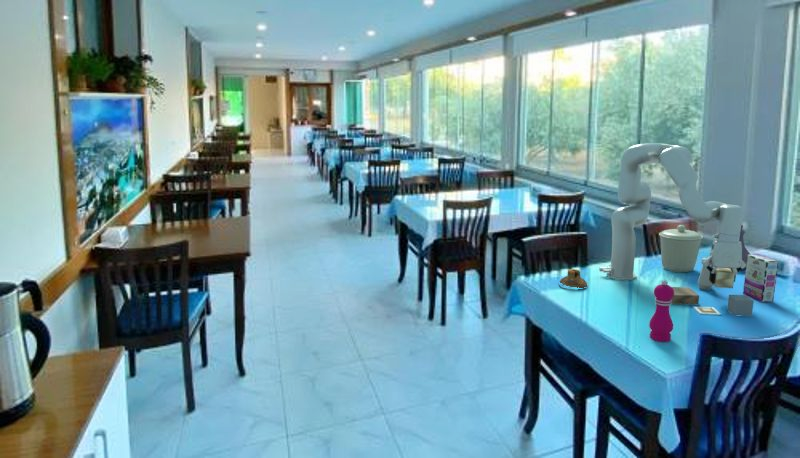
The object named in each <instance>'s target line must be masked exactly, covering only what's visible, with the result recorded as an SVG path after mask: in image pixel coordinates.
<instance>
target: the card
mask: <svg viewBox="0 0 800 458" xmlns="http://www.w3.org/2000/svg"><path fill="white" fill-rule="evenodd" d="M692 308H693V309H694V310H695V311H696V312H697V313H698V314H699V315H706V316H707V315H710V316H711V315H714V316H721V312H719V311H718V310H717V309H716V308H715V307H713V306H712V307H711V306H693V307H692Z"/></svg>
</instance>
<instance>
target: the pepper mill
mask: <svg viewBox="0 0 800 458" xmlns="http://www.w3.org/2000/svg"><path fill="white" fill-rule="evenodd" d="M672 287H673V286H671V285H669V283H668V281H667V280H666V279H663V280H662V281H661V284H657V285H656V286H655V287H654V289H653V295H654V297H655V298H654V303H655V311H654V313H653V315H652V316H651V318H650V319H649V323H648V328H649V329H650V330H651V331H650V332H649V338H650V339H651V340H653V341H656V342H658V343H659V342H660V343H667V342H670V341H671V340H672V339H671V338H672V334H671V333H672V332H673V331H674V323H673V320H672V317H671V314H670V307H671V306H672V305H673V304H672V303H671V302H672V300H671V298H673V296H674V290H673V288H672Z"/></svg>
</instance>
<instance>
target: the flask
mask: <svg viewBox="0 0 800 458" xmlns="http://www.w3.org/2000/svg"><path fill="white" fill-rule="evenodd" d="M745 233H746V231H745V230H743V225H742V224H741V230H740V238H739V241H740V242H741V244H742V260H743V261H744V263H745V264H747V256H748V255H752V253H750V252H749V250H748V249H747V248H746V246H745V241H744V235H745ZM729 269H730V268H729ZM730 270H731V269H730ZM745 270H746V267H744V268H743V269H742V270H741V271H745Z"/></svg>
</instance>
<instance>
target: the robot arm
mask: <svg viewBox="0 0 800 458" xmlns="http://www.w3.org/2000/svg"><path fill="white" fill-rule="evenodd" d="M692 160H693V155H692V152H691V151H690V149H689V148H687V147H685V146H681V145H675V144H674V145H673V144H667V143H661V142H650V143H649V142H648V143H640V144H635V145H632V146H629V147H628V148H627V149H625V150H624V152H623V153H622V155H621V159H620V169H619V170H620V172H619V173H620V174H619V180H618V187H617V200H618V202H620V203H621V204H623V205H627V206H623V207H622V206H621V207H619V208H617V209H615V210H614V211H613V212H612V214H611V217H610V219H611V220H610V221H611V229H612V239H611V253H610V254H611V255H610V257H611V259H610V264H609V265H608V266H607V267H605V266H604V267H603V266H600V267H599V270H598V271H599V272H603V273H606V277H607V276H608V277H607V278H609V277H610V278H609V279H611V278H613V279H612V280H615V279H616V281H634V280H636V279H637V278H638V275H637V274H636V273H634V270H635V269H634V268H635V255H636V253H635V252H636V233H635V230H634V228H635V227H640V226H642V225H644V224H646V222H647V220H648V219H649V213H650V208H651V207H650V206H651V199H652V190H651V187H650V185H649V184H648V183H647V182H646V181H643V180H641V179H642V169H641V165H648V164H660V165H661V166H662V169H664V171H665V172H666V173H667V175H668V176H669V177H670V179H671V180H672V181H673V183H674V185H676V187H677V190H678V197H679V200H680V203H681V205H682V206H683V208H684V209H685V211H686V212H687V213H688V215H689V216H690V217H691V219H693V220H694V221H695V222H697V223H701V224H704V223H708V222H709V223H710V222H714V221H718V222H717V230H716V233H713V234H712V238H714V240H713V242H712V244H711V249H710V252H709V255H708V257H706V258H707V259H706V260H704V261H703V262H702V261H701V264H702V266H703V265H704V266H705V267H706V268H707V269H708V270H709V271H710V276H709V280H710V282H711V283H713V284H714V283H715V278H716V274H715V271H716V270H717V268H730V270H732V271H733V272H734V273H735V277H734V283H735V282H736V277H737V275H738V273H739V272H741V271H743V270H742V269H743V268H744V267H746V266H747V265H746V264H745V263H744V261H743V260H742V244H741V242H740V241H739V238H740V230H741V225H742V222H743V215H744V209H743V207H742V206H741V205H736V204H727V203H725V202H721V201H717V200H709V201H704V200H703V198H702V197H701V196H700V194H699V192H698V190H697V182H698V180H699V176H700V175H699V174H698V173H697V171H696V170H695V169H694V168H693V166H692V165H691V164H690V163H692ZM708 263H710V264H712V265H711V267H710V266H709V265H708Z"/></svg>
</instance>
